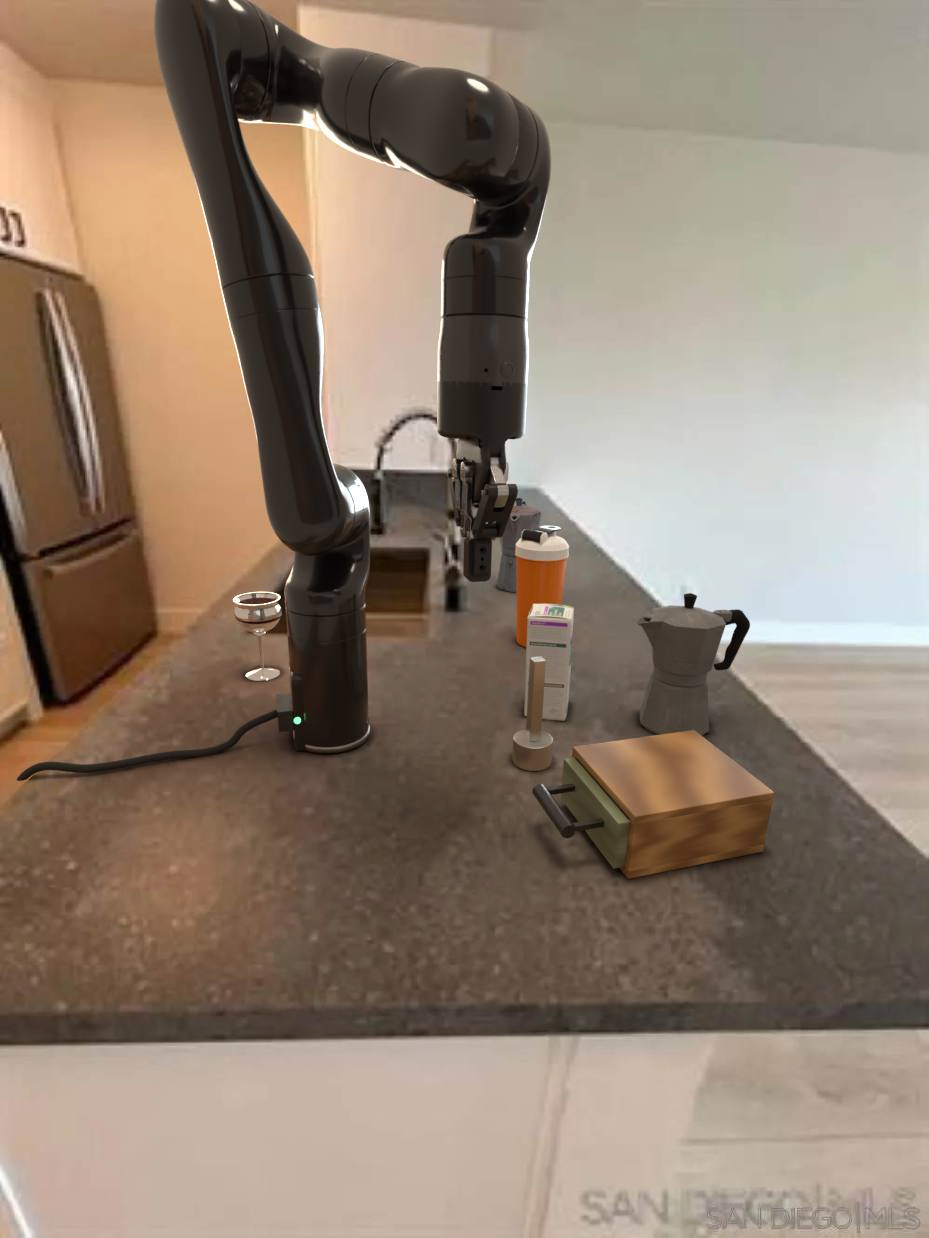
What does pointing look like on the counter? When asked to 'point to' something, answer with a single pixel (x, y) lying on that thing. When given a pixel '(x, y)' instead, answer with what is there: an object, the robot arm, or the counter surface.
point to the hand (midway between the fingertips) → (476, 579)
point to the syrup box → (551, 655)
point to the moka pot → (514, 542)
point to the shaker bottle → (539, 572)
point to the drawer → (587, 811)
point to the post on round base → (533, 725)
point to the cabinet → (679, 800)
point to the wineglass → (258, 623)
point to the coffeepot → (685, 663)
